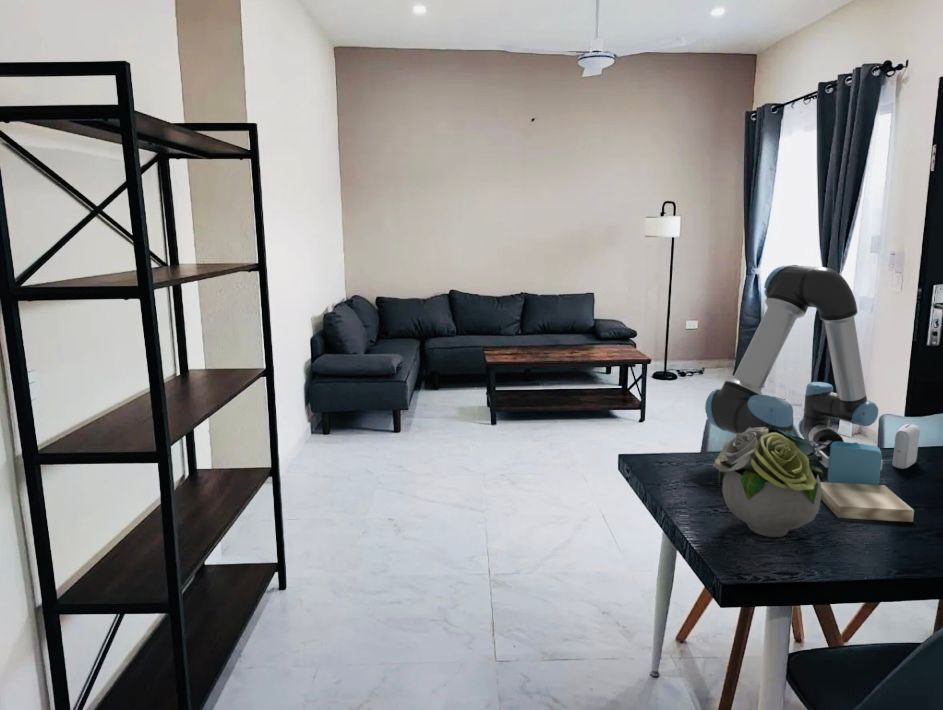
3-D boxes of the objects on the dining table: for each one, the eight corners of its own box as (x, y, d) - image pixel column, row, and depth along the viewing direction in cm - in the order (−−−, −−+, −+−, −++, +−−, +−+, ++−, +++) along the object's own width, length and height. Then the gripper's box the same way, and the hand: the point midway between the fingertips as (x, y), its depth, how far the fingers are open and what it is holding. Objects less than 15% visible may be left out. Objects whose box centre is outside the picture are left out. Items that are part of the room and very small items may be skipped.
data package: (876, 487, 186) (881, 446, 183) (877, 494, 182) (882, 451, 179) (827, 480, 191) (831, 440, 188) (827, 486, 187) (831, 445, 185)
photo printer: (906, 470, 200) (911, 429, 197) (889, 466, 203) (894, 426, 201) (918, 462, 206) (923, 423, 204) (902, 458, 209) (906, 420, 207)
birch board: (837, 517, 167) (839, 506, 166) (815, 492, 183) (816, 481, 182) (912, 522, 164) (914, 510, 164) (883, 495, 180) (884, 485, 180)
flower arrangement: (695, 510, 172) (701, 417, 167) (791, 507, 173) (799, 415, 169) (739, 556, 147) (747, 449, 143) (850, 553, 149) (862, 446, 144)
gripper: (868, 454, 205) (901, 479, 185) (781, 450, 209) (804, 474, 188) (871, 430, 204) (905, 453, 183) (783, 427, 208) (807, 448, 187)
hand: (854, 464), depth 186 cm, fingers open, 13 cm apart
